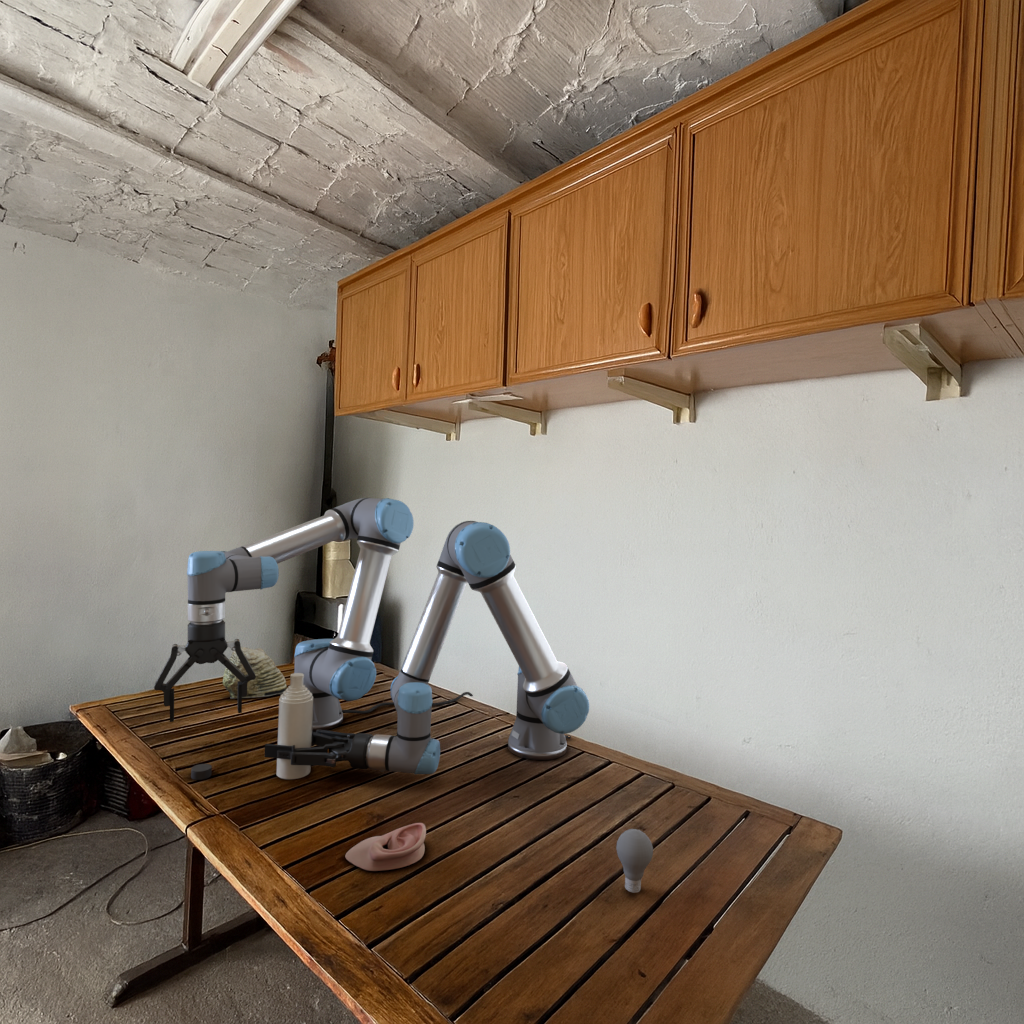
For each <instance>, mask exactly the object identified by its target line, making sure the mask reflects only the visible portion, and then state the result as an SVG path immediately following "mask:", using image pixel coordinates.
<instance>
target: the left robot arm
mask: <svg viewBox="0 0 1024 1024" xmlns="http://www.w3.org/2000/svg"><path fill="white" fill-rule="evenodd" d="M414 526H415V525H414V516H413V513H412V512H411V509H410V507H409V506H408V505H407V504H406V503H404V502H403V501H401V500H398V499H395V498H389V497H385V498H379V497H378V498H376V497H375V498H374V497H360V498H357V499H354V500H351V501H348V502H345V503H343V504H341V505H338V506H336V507H333V508H330V509H328V510H326V511H325V512H324V514H323V515H322V516H318V517H317V518H314V519H311V520H308V521H305V522H303V523H300V524H298V525H295V526H292V527H290V528H287V529H285V530H282V531H279V532H277V533H273V534H271V535H267V536H265V537H263V538H260V539H258V540H255V541H251V542H250V543H246V544H244V545H241V546H239V547H235V548H233V549H230V550H227V551H226V550H198V551H194V552H191V553H190V554H189V555H188V558H187V570H186V575H187V621H188V622H189V623H188V624H187V643H186V644H185V645H181V644H180V645H179V644H178V643H173V644H172V646H171V651H170V655H169V657H168V659H167V661H166V663H165V664H164V666H163V668H162V670H161V672H160V674H159V676H158V677H157V679H156V680H155V682H154V687H153V689H154V690H155V691H162V692H163V706H164V707H169V723H173V722H174V721H175V688H174V687H175V685H176V684H177V683H178V682H179V681H180V680H181V678H182V677H183V676H184V675H185V673H187V672H188V671H189V669H190V668H191V667H193V666H194V664H197V665H204V664H215V663H216V662H217V661H219V663H220V664H222V665H223V666H224V668H227V669H228V670H229V671H230V672H231V673H233V674H234V675H235V676H236V677H237V678H238V679H239V680H240V681H238V698H237V713H238V714H242V713H243V698H242V697H246V696H247V683H248V682H249V681H250V680H254V679H255V678H256V675H255V672H254V671H253V669H252V667H251V665H250V664H249V662H248V660H247V658H246V657H245V655H244V653H243V652H242V650H241V647H242V646H241V641H240V639H239V638H235V639H234V640H231V641H230V640H229V641H227V640H226V622H225V620H224V619H225V618H226V593H233V592H241V591H243V592H244V591H253V590H263V589H268V588H273V587H274V586H275V585H276V584H277V582H278V581H279V578H280V577H279V576H280V575H279V573H280V569H279V565H278V564H280V563H282V562H283V563H284V562H285V561H288V560H290V559H293V558H295V557H298V556H300V555H303V554H305V553H307V552H310V551H313V550H315V549H318V548H320V547H322V546H325V545H327V544H330V543H332V542H336V543H341V542H344V541H347V540H352V539H356V544H357V545H358V547H359V548H360V549H359V552H358V553H359V554H358V556H357V557H358V558H357V561H356V565H355V568H354V572H353V576H352V580H351V584H350V587H349V591H348V596H347V599H346V603H345V607H344V611H343V614H342V617H341V621H340V626H339V629H338V633H337V636H336V637H335V638H318V639H308V640H304V641H300V642H299V643H297V644H296V646H295V650H294V655H293V657H294V672H293V673H303V674H304V683H303V685H305V687H306V688H307V689H308V690H309V691H310V692H311V693H312V696H313V721H312V732H316V730H318V729H320V730H327V731H330V730H332V729H335V728H337V727H339V726H340V725H342V723H343V722H344V714H360V715H362V714H363V715H364V714H369V713H372V712H373V711H374V710H376V709H378V708H380V707H385V706H395V705H394V702H393V701H390V702H389V701H388V702H387V701H386V702H381V703H378V704H377V703H376V704H375V705H373V706H372V707H371V708H369V709H367V710H366V709H365V710H360V709H359V710H358V709H342V706H341V702H340V700H343V701H347V702H353V701H357V700H359V699H361V698H362V697H363V696H365V695H367V694H368V693H369V692H370V691H371V689H372V688H373V686H374V684H375V682H376V679H377V668H376V666H375V663H374V662H373V661H372V658H373V654H374V649H373V647H372V646H371V645H372V644H371V639H372V635H373V631H374V627H375V623H376V619H377V615H378V613H379V608H380V603H381V599H382V596H383V592H384V587H385V584H386V579H387V575H388V572H389V568H390V564H391V560H392V557H393V556H394V555H396V554H397V553H398V552H400V547H401V544H402V543H404V542H406V540H407V539H409V538H410V537H411V535H412V533H413V531H414V530H413V529H414ZM228 648H230V650H231V651H232V652H234V651H235V652H236V654H237V656H238V658H239V660H240V661H241V663H242V665H243V667H244V668H245V670H246V672H247V675H244V674H243V673H242V672H241V671H240V670H239V669H238V668H237V667H236V666H235V665H234V664H233V663H232V662H231V661H230V660H229V659H230V658H228V656H227V655H225V652H226V650H227V649H228ZM183 652H185V653H186V654H187V655H188V657H187V658H186V660H185V661H184V663H183V664H182V665H181V666H180V667H179V668H178V669H177V670H176V671H175V673H174V674H173V675H172V676H171V677H170V678H169V679H168V681H166V679H167V677H168V675H169V673H170V671H171V669H172V667H173V666H174V664H175V662H176V660H177V657H178V656H179V657H180V656H181V655H182V653H183ZM165 681H166V683H165ZM465 696H469V697H474V694H473V693H471V691H463V692H462V693H461V694H459V695H458V696H457V697H455V698H451V699H448V700H444V701H439V702H433V704H432V707H438V706H443V705H448V704H450V703H454V702H457V701H459V700H460V699H462V698H463V697H465Z"/></svg>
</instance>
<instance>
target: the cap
mask: <svg viewBox="0 0 1024 1024" xmlns="http://www.w3.org/2000/svg"><path fill="white" fill-rule="evenodd" d="M212 770H213V766H212V764H209V763H199V764H195V765H193V766H192V767H191V769H190V779H191V780H193V781H194V780H195V781H201V780H207V779H208V778H209V779H210V777H212V774H213V773H212V772H213V771H212Z"/></svg>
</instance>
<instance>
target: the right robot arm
mask: <svg viewBox="0 0 1024 1024" xmlns="http://www.w3.org/2000/svg"><path fill="white" fill-rule="evenodd" d="M516 568H517V564H516V563H515V561H514V560H513V557H512V555H511V547H510V543H509V540H508V537H507V536H506V535H505V534H504V532H503V531H502V530H501V529H499V528H498V527H497V526H495V525H493V524H491V523H489V522H482V521H476V520H466V521H461V522H460V523H458V524H456V525H455V526H453V528H451V529H450V531H449V532H448V534H447V537H446V538H445V541H444V544H443V546H442V550H441V552H440V555H439V558H438V561H437V564H436V569H437V575H436V578H435V580H434V583H433V585H432V588H431V590H430V593H429V596H428V597H427V601H426V602H425V606H424V609H423V611H422V614H421V616H420V618H419V621H418V624H417V626H416V629H415V632H414V633H413V636H412V640H411V642H410V644H409V647H408V650H407V651H406V655H405V657H404V659H403V662H402V664H401V668H400V670H399V672H398V674H397V676H396V677H395V678H393V680H392V682H391V684H390V698H391V700H392V702H394V705H393V706H394V708H395V712H396V716H397V721H396V723H397V724H396V735H391V734H379V733H375V734H374V735H373V734H372V733H362V732H358V733H355V732H340V731H334V730H320V729H318V730H316V732H312V747H309V748H295V745H293V746H286V745H277V744H272V743H266V744H264V758H267V759H269V758H270V759H277V758H279V759H291V765H311V767H312V766H313V767H315V766H318V767H319V766H320V767H328V768H335V767H337V762H338V763H339V762H348V763H349V766H350V767H351V769H356V770H367V769H369V770H371V771H380V773H385V772H395V773H403V774H413V775H433V774H435V772H437V770H438V767H439V764H440V759H441V742H440V741H439V739H435V738H433V737H432V733H431V727H432V725H431V724H432V709H433V706H432V704H433V703H434V702H433V701H434V700H433V689H432V686H430V685H429V683H430V680H431V677H432V674H433V672H434V669H435V667H436V664H437V661H438V659H439V657H440V653H441V652H442V649H443V646H444V643H445V641H446V638H447V636H448V633H449V630H450V628H451V625H452V623H453V620H454V618H455V615H456V613H457V610H458V607H459V604H460V603H461V600H462V598H463V594H464V592H465V589H466V587H467V584H468V587H470V590H471V591H475V592H478V593H480V594H481V597H482V598H483V600H484V602H485V604H486V606H487V608H488V610H489V611H490V613H491V615H492V618H493V619H494V621H495V623H496V625H497V626H498V629H499V630H500V633H501V634H502V636H503V638H504V640H505V642H506V644H507V646H508V648H509V649H510V652H511V653H512V655H513V658H514V659H515V661H516V663H517V665H518V671H517V689H516V712H515V713H516V714H515V715H516V716H515V720H514V722H513V725H512V728H511V731H510V733H509V736H508V739H507V740H508V741H507V749H508V751H509V752H510V753H512V754H514V755H515V756H517V757H519V758H523V759H527V760H533V761H549V760H550V761H551V760H555V759H559V758H561V757H563V756H564V755H566V753H567V749H568V743H567V740H570V739H572V737H571V735H569V734H570V733H573V732H575V731H577V730H578V729H579V728H580V727H582V726H583V724H584V723H585V722H586V720H587V717H588V714H589V712H590V699H589V697H588V695H587V693H586V692H585V690H583V688H582V687H580V686H579V685H578V684H577V683H576V681H575V679H574V677H573V675H572V673H571V670H570V669H569V667H568V665H567V664H566V663H565V662H563V661H558V660H557V657H556V656H555V654H554V651H553V650H552V647H551V645H550V644H549V641H548V639H547V638H546V636H545V634H544V632H543V630H542V628H541V627H540V625H539V622H538V620H537V618H536V616H535V615H534V612H533V611H532V609H531V607H530V605H529V603H528V601H527V599H526V597H525V595H524V593H523V591H522V589H521V587H520V585H519V582H517V579H516V578H515V575H514V574H515V571H516ZM568 736H570V737H568Z"/></svg>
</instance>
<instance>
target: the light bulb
mask: <svg viewBox="0 0 1024 1024" xmlns="http://www.w3.org/2000/svg"><path fill="white" fill-rule="evenodd" d="M615 849H616V854H617V857H618V859H619V861H620V863H621V865H622V867H623V873H624V874H623V875H624V876H625V878H624V888H625V890H627V891H628V892H630V893H634V894H635V893H639V892H640V891H641V889H642V887H641V886H642V879H643V877H644V875H645V871H646V868H647V867H648V866H649V864H650V863H651V861H652V859H653V855H654V847H653V843H652V841H651V838H649V836H648V835H647V834H646V833H645V832H643V831H642V830H641V829H636V828H629V829H627V830H625V831H623V832H622V833H621V834H620V835H619V837H618V839H617V841H616V847H615Z"/></svg>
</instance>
